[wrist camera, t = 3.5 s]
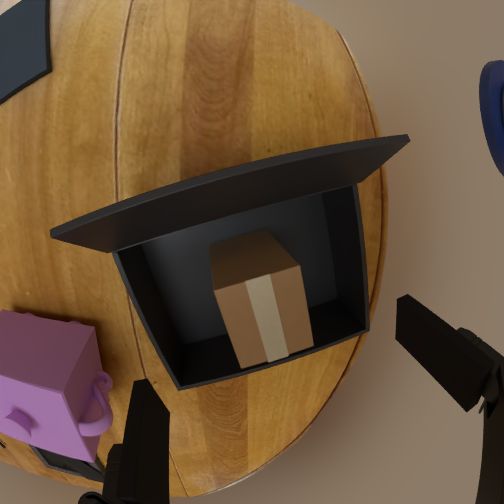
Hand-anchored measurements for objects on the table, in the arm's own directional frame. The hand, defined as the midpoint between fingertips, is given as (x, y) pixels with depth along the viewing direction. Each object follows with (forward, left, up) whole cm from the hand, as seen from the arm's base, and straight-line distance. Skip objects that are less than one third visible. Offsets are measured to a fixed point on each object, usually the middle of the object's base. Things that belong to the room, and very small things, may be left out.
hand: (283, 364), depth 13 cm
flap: (0, -8, -3) cm, 8 cm away
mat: (+22, -29, -13) cm, 39 cm away
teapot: (+24, +3, -14) cm, 28 cm away
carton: (0, 0, -13) cm, 13 cm away
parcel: (0, 0, -13) cm, 13 cm away
